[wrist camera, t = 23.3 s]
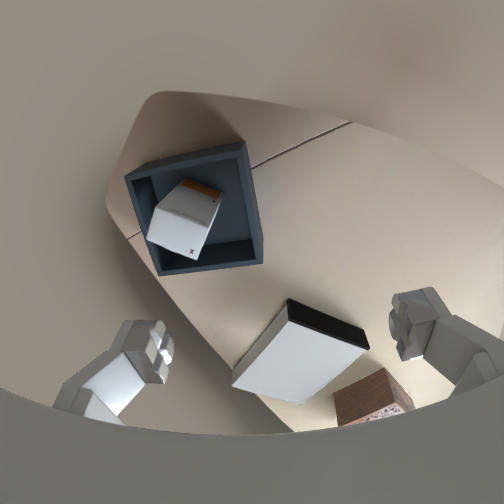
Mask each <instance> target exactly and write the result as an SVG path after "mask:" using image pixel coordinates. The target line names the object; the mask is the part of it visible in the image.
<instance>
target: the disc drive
mask: <svg viewBox="0 0 504 504" xmlns="http://www.w3.org/2000/svg"><path fill="white" fill-rule="evenodd" d="M369 349H370V346H369V343H368V341H367V338H366V335H365V332H364V330H363V329H360V328H358V327H355V326H353V325H350V324H348V323H345V322H343V321H341V320H338V319H336V318H333V317H331V316H329V315H326V314H324V313H321V312H319V311H317V310H314V309H312V308H310V307H307V306H305V305H303V304H300V303H298V302H296V301H293V300H291V299H289V298H288V300H287V304H286V305H285V306H284V308H283V309H282V310H281V312H280V313H279V314H278V315H277V317H276V318H275V319H274V320H273V322H272V323H271V324H270V325H269V327H268V328H267V329H266V330H265V332H264V333H263V334H262V335H261V337H260V338H259V339H258V340H257V341H256V343H255V344H254V345H253V346H252V347H251V349H250V350H249V351H248V352H247V354H246V355H245V356H244V357H243V358H242V359H241V361H240V362H239V363H238V364H237V365H236V367H235V368H234V369H233V375H232V385H231V386H233V387H237V388H239V389H243V390H246V391H249V392H253V393H256V394H260V395H263V396H267V397H271V398H275V399H278V400H282V401H286V402H291V403H295V404H299V405H301V404H303V403H304V402H305V401H307V400H308V399H309V398H310V397H312V396H313V395H314V394H316V393H317V392H318V391H319V390H321V389H322V388H323V387H324V386H326V385H327V384H328V383H329V382H330V381H332V380H333V379H334V378H335V377H336V376H338V375H339V374H340V373H341V372H342V371H343V370H344V369H346V368H347V367H348V366H349V365H350V364H351V363H352V362H354V361H355V360H356V359H357V358H358V357H359V356H360V355H361V354H362V353H363V352H364V351H366V350H369Z"/></svg>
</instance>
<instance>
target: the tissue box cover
mask: <svg viewBox="0 0 504 504" xmlns="http://www.w3.org/2000/svg"><path fill="white" fill-rule="evenodd" d="M333 396H334V403H335V409H336V415H337V422H338V427H340V426H346V425H352V424H357V423H362V422H367V421H372V420H376V419H381V418H385V417H389V416H393V415H397V414H401V413H404V412H408V411H411V410H415V406H414V403H413V400H412V399H411V398H410V397H409V395H408V394H407V393H406V392H405V391H404V390H403V388H402V387H401V386H400V385H399V384H398V382H397V381H396V380H395V379H394V378H393V377H392V376H391V374H390V373H389V372H388V371H387V370H386V369H385V368H383V369H381V370H379V371H377V372H376V373H374V374H372V375H370V376H368V377H366V378H364V379H362V380H360V381H358V382H356V383H354V384H352V385H350V386H348V387H346V388H344V389H342V390H340V391H337V392H335V393H333Z"/></svg>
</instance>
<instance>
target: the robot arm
mask: <svg viewBox="0 0 504 504" xmlns="http://www.w3.org/2000/svg"><path fill="white" fill-rule="evenodd" d="M392 305H393V310H392V311H391V312H390V314H389V329H390V333H391V336H392V338H393V339H395V340H396V341H398V342H397V346H396V348H397V351H398V353H399V356H400V358H401V361H406V360H411V359H415V358H419V357H423V359H425V360H426V361H427V362H428V363H429V364H431V365H432V366H433V367H434V368H435V369H437V370H438V371H439V372H440V373H441V374H442V375H444V376H445V377H446V378H447V379H448V380H449V381H451V382H452V383H453V384H454V385H455V388H454V389H453V391H452V392H451V394H450V395H449V397H448V399H445V400H442V401H440V402H437V403H434V404H431V405H428V406H424V407H421V408H418V409H415V410H411V411H408V412H404V413H401V414H397V415H393V416H389V417H385V418H381V419H376V420H372V421H367V422H362V423H357V424H352V425H346V426H340V427H334V428H327V429H320V430H312V431H303V432H292V433H280V434H261V435H208V434H189V433H178V432H168V431H159V430H151V429H144V428H137V427H130V426H125V424H124V423H123V422H122V421H121V420H120V419H119V418H118V417H117V415H118V414H119V413H120V412H121V411H122V409H123V408H124V407H125V406H126V405H127V404H128V403H129V402H130V401H131V400H132V398H133V397H134V396H135V395H136V394H137V393H138V392H139V391H140V390H141V389H142V388H143V387H144V385H145V383H158V384H165V383H166V380H167V376H168V373H169V368H168V366H167V364H169V363H170V362H171V361H172V359H173V355H174V345H173V341H172V339H171V337H170V336H169V335H168V334H166V333H165V329H166V327H165V325H164V323H163V322H162V321H161V320H137V321H132V320H131V321H129V320H128V321H127V320H126V321H125V322H123V323H122V326H121V327H120V329H119V331H118V333H117V335H116V337H115V339H114V341H113V343H112V345H111V347H110V349H109V351H105V352H103V353H102V354H101V355H99V356H98V357H97V358H96V359H94V360H93V361H92V362H90V363H89V364H88V365H86V366H85V367H84V368H83V369H81V370H80V371H79V372H77V373H76V374H75V375H74V376H72V377H71V378H70V379H68V380H67V381H66V382H65V383H64V384H63V386H62V388H61V390H60V392H59V394H58V396H57V398H56V400H55V402H54V405H53V406H52V407H49V406H45V405H43V404H40V403H37V402H34V401H32V400H29V399H26V398H24V397H21V396H18V395H16V394H13V393H11V392H9V391H6V390H4V389H2V388H0V504H504V342H503V341H501V340H500V339H498V338H496V337H495V336H493V335H491V334H489V333H487V332H486V331H484V330H482V329H480V328H479V327H477V326H475V325H473V324H471V323H470V322H468V321H466V320H464V319H462V318H460V317H459V316H457V315H453V316H452V315H451V313H450V311H449V310H448V308H447V307H446V305H445V304H444V302H443V301H442V299H441V298H440V296H439V295H438V294H437V292H436V291H435V289H434V288H433V287H426V288H422V289H419V290H413V291H408V292H403V293H398V294H394V296H393V298H392Z"/></svg>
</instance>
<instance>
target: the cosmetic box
mask: <svg viewBox="0 0 504 504" xmlns="http://www.w3.org/2000/svg"><path fill="white" fill-rule="evenodd" d="M224 194H225V193H224V192H221V191H218V190H216V189H214V188H211V187H208V186H206V185H203V184H201V183H199V182H196V181H194V180H191V179H189V178H187V177H186V178H184V179H183V180H182V181H181V182H180V183H179V184H178V185H177V186H176V187H175V188H174V189H173V190H172V191H171V192H170V193H169V194H168V195H167V196H166V197H165V198H164V199H163V200H162V201H161V202H160V203H159V204H158V205H157V206H156V207H155V210H154V213H153V216H152V219H151V223H150V226H149V229H148V233H147V237H146V239H147V240H148V241H151V242H153V243H155V244H158V245H160V246H163V247H164V248H166V249H168V250H170V251H173V252H176V253H179V254H182V255H184V256H187V257H189V258H192V259H194V260H197V259H198V257H199V254H200V251H201V249H202V247H203V244H204V242H205V240H206V237H207V235H208V232H209V230H210V228H211V225H212V223H213V221H214V218H215V216H216V214H217V211H218V209H219V207H220V204H221V201H222V199H223V196H224Z"/></svg>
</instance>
